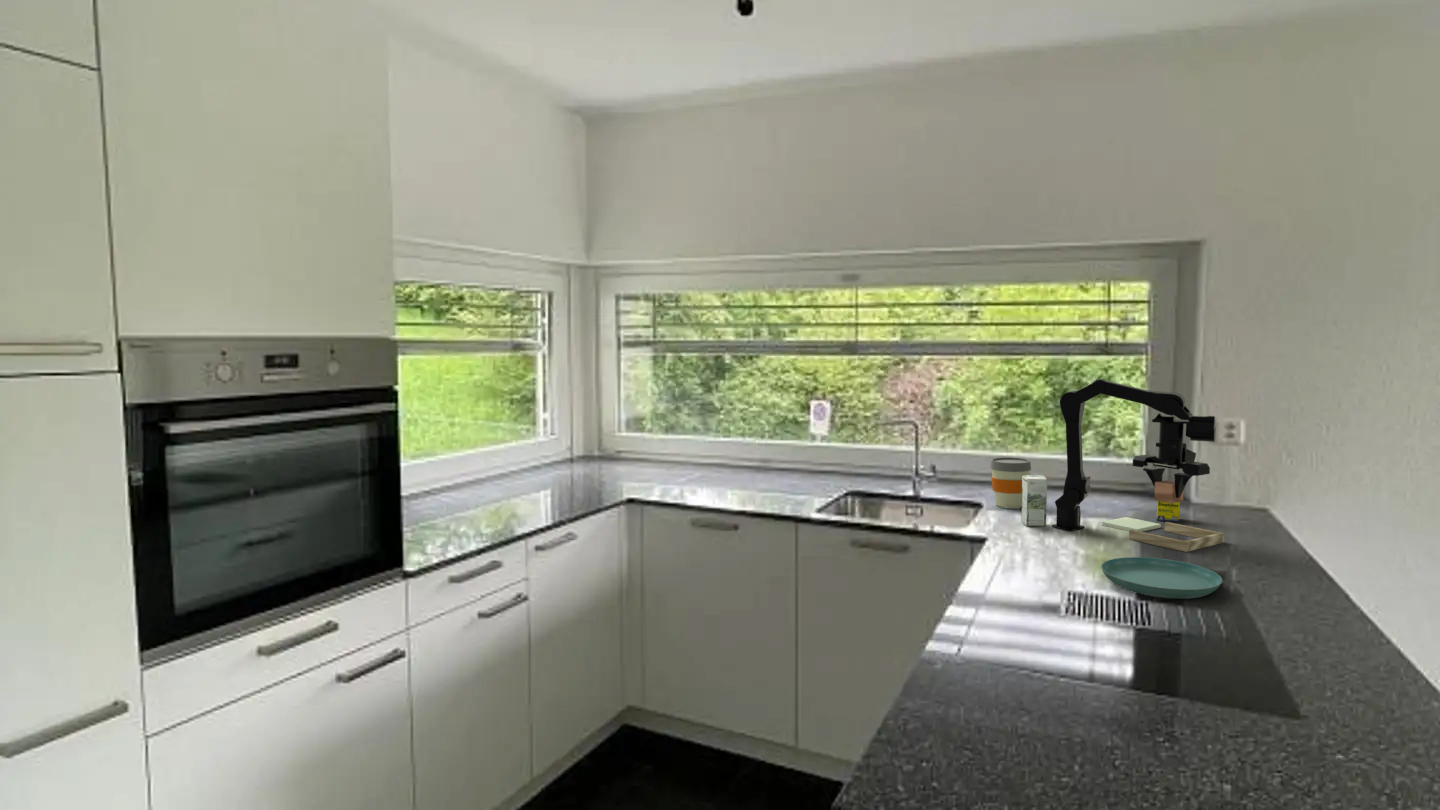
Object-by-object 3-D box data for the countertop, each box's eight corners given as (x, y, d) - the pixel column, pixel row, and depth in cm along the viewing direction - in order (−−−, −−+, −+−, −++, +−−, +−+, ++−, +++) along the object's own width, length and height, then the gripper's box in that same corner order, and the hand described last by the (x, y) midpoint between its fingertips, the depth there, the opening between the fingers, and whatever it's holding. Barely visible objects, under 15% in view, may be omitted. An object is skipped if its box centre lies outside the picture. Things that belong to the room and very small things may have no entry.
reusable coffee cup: (1033, 510, 265) (1034, 463, 264) (992, 509, 268) (992, 463, 267) (1027, 502, 278) (1027, 457, 276) (987, 501, 280) (988, 457, 279)
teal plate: (1156, 608, 174) (1156, 593, 173) (1077, 576, 197) (1078, 562, 196) (1249, 596, 180) (1249, 581, 180) (1162, 566, 203) (1162, 552, 203)
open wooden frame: (1185, 552, 214) (1186, 542, 214) (1128, 539, 228) (1129, 530, 228) (1223, 542, 222) (1224, 533, 222) (1166, 530, 236) (1166, 521, 236)
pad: (1136, 532, 234) (1137, 529, 234) (1102, 525, 244) (1102, 521, 244) (1160, 527, 240) (1160, 524, 240) (1125, 520, 249) (1125, 516, 249)
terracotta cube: (1171, 503, 223) (1172, 485, 223) (1154, 500, 228) (1155, 482, 227) (1183, 501, 226) (1183, 483, 225) (1165, 498, 230) (1166, 480, 230)
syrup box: (1040, 522, 249) (1041, 474, 248) (1046, 527, 243) (1047, 478, 242) (1021, 522, 250) (1021, 474, 248) (1026, 527, 244) (1027, 478, 242)
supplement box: (1156, 521, 248) (1157, 484, 247) (1156, 517, 253) (1157, 481, 252) (1179, 523, 245) (1180, 486, 244) (1179, 518, 250) (1180, 482, 249)
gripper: (1223, 441, 221) (1220, 499, 222) (1157, 433, 237) (1154, 487, 239) (1198, 444, 215) (1195, 503, 217) (1132, 436, 232) (1130, 491, 233)
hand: (1168, 496), depth 227 cm, fingers closed on terracotta cube, 5 cm apart
